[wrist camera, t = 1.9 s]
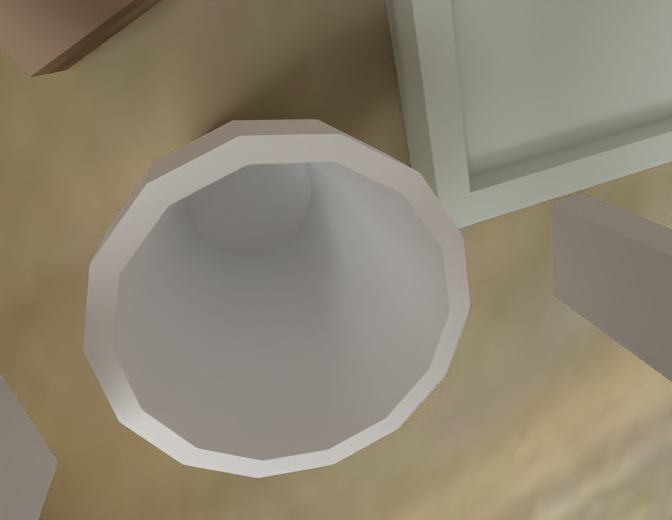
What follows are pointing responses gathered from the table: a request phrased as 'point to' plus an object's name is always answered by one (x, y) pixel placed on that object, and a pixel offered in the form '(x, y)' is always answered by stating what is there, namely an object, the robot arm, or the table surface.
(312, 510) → the table surface
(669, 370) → the robot arm
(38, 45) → the walnut block
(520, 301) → the table surface
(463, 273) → the foam cup
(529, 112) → the tray
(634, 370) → the table surface
